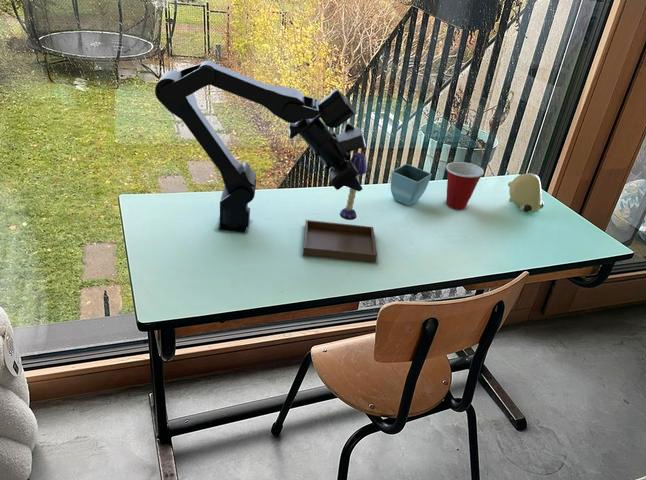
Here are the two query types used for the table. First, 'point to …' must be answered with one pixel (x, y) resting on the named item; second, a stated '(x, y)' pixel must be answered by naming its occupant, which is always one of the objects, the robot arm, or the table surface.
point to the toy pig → (526, 193)
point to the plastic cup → (461, 183)
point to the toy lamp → (361, 168)
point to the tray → (339, 241)
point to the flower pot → (408, 183)
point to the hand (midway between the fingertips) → (359, 186)
